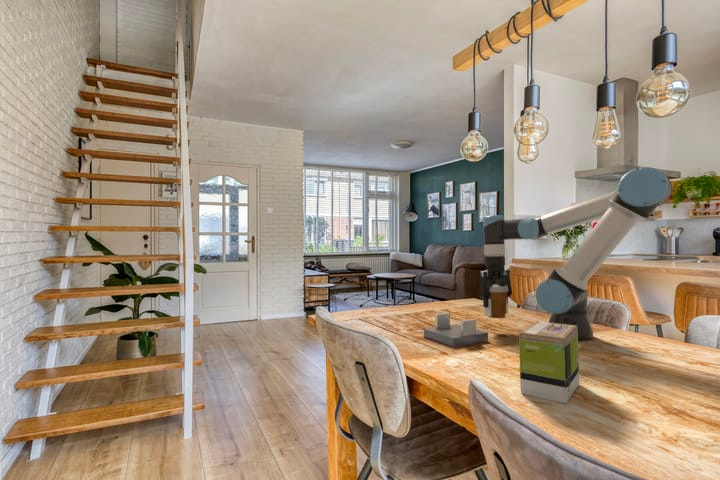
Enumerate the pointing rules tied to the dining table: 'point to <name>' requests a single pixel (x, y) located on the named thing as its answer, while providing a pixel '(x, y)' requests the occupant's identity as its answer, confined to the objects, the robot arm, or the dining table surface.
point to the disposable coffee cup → (498, 300)
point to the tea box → (549, 361)
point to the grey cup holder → (455, 332)
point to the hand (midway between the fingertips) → (496, 314)
